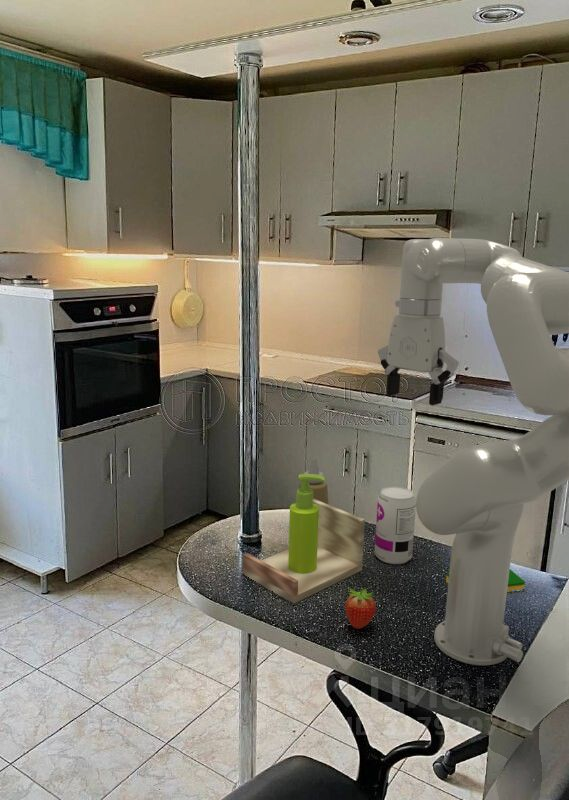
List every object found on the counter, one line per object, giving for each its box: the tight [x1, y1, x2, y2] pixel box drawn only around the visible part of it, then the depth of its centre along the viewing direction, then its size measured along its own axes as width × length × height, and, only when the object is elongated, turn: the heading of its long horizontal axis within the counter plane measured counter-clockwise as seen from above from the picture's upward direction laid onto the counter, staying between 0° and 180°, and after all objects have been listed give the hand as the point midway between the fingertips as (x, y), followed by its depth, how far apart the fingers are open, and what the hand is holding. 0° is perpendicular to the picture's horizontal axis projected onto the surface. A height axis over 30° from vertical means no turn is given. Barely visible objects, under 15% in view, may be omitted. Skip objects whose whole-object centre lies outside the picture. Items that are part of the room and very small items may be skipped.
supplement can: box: [374, 486, 417, 565], centre depth 143 cm, size 8×8×15 cm
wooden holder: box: [242, 499, 366, 605], centre depth 136 cm, size 15×20×12 cm
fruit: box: [344, 587, 377, 630], centre depth 117 cm, size 5×5×8 cm
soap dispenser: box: [288, 473, 326, 574], centre depth 134 cm, size 6×7×20 cm
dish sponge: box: [445, 569, 526, 591], centre depth 133 cm, size 7×14×2 cm, turn 104°
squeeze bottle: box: [298, 457, 329, 505], centre depth 155 cm, size 8×8×18 cm
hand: (413, 399), depth 125 cm, fingers open, 9 cm apart
